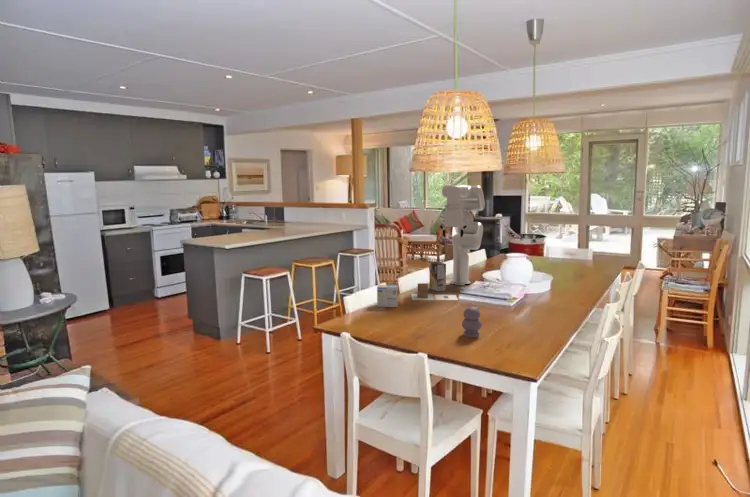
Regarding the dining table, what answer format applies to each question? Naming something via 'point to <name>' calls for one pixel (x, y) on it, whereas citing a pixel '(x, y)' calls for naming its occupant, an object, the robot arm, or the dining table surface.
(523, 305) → the dining table surface
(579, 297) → the dining table surface
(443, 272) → the coffee box
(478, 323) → the cat figurine
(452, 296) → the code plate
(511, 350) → the dining table surface
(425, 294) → the walnut block
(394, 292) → the light bulb box
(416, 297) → the sage mat
